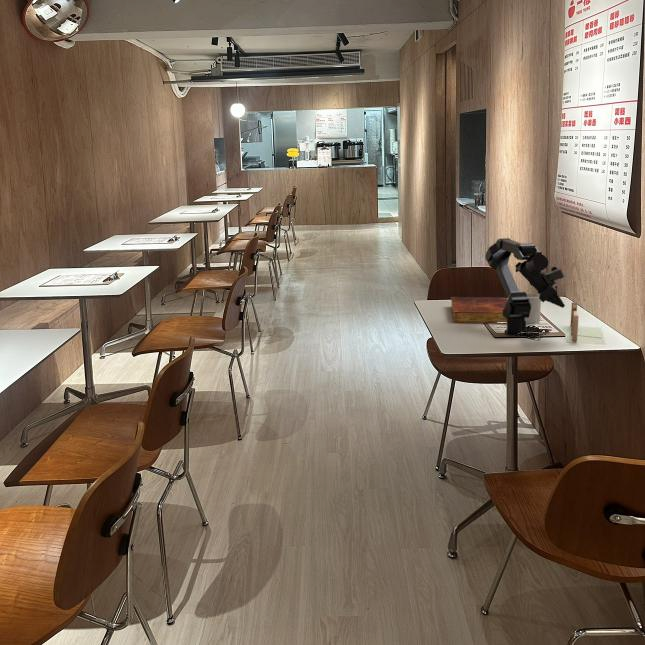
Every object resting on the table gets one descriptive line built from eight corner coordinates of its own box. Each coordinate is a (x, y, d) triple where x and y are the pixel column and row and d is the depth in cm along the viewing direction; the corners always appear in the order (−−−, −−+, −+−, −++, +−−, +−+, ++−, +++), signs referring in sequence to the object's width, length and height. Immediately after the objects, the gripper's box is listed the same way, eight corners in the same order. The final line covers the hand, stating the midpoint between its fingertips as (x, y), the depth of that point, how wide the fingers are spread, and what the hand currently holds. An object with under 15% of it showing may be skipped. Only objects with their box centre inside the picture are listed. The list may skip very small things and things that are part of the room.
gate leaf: (571, 341, 289) (573, 316, 287) (571, 334, 298) (572, 310, 296) (577, 341, 289) (578, 316, 287) (576, 335, 298) (578, 310, 296)
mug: (540, 325, 317) (541, 297, 314) (517, 324, 318) (519, 296, 316) (539, 318, 328) (541, 291, 325) (518, 317, 330) (519, 291, 327)
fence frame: (571, 335, 299) (572, 310, 297) (570, 325, 313) (571, 301, 311) (576, 335, 298) (578, 310, 296) (575, 326, 313) (577, 302, 311)
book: (514, 325, 319) (515, 312, 318) (453, 324, 322) (453, 312, 321) (506, 308, 348) (506, 297, 347) (450, 308, 350) (450, 297, 349)
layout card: (565, 342, 290) (565, 341, 290) (564, 326, 314) (564, 325, 313) (605, 345, 287) (605, 344, 286) (601, 328, 310) (601, 327, 310)
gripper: (551, 264, 279) (582, 297, 279) (551, 256, 296) (580, 287, 296) (526, 285, 283) (557, 318, 283) (528, 276, 300) (557, 307, 300)
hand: (564, 306), depth 290 cm, fingers closed
